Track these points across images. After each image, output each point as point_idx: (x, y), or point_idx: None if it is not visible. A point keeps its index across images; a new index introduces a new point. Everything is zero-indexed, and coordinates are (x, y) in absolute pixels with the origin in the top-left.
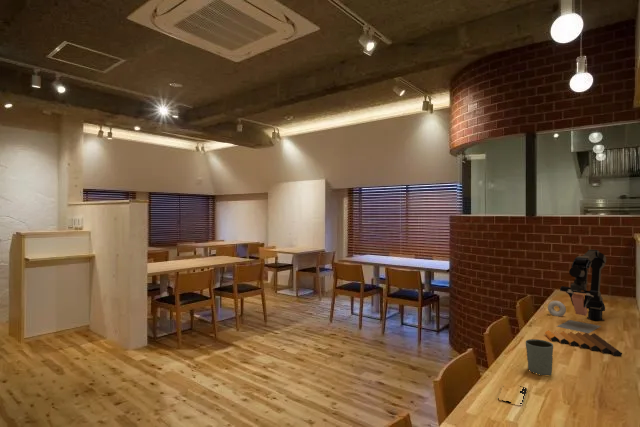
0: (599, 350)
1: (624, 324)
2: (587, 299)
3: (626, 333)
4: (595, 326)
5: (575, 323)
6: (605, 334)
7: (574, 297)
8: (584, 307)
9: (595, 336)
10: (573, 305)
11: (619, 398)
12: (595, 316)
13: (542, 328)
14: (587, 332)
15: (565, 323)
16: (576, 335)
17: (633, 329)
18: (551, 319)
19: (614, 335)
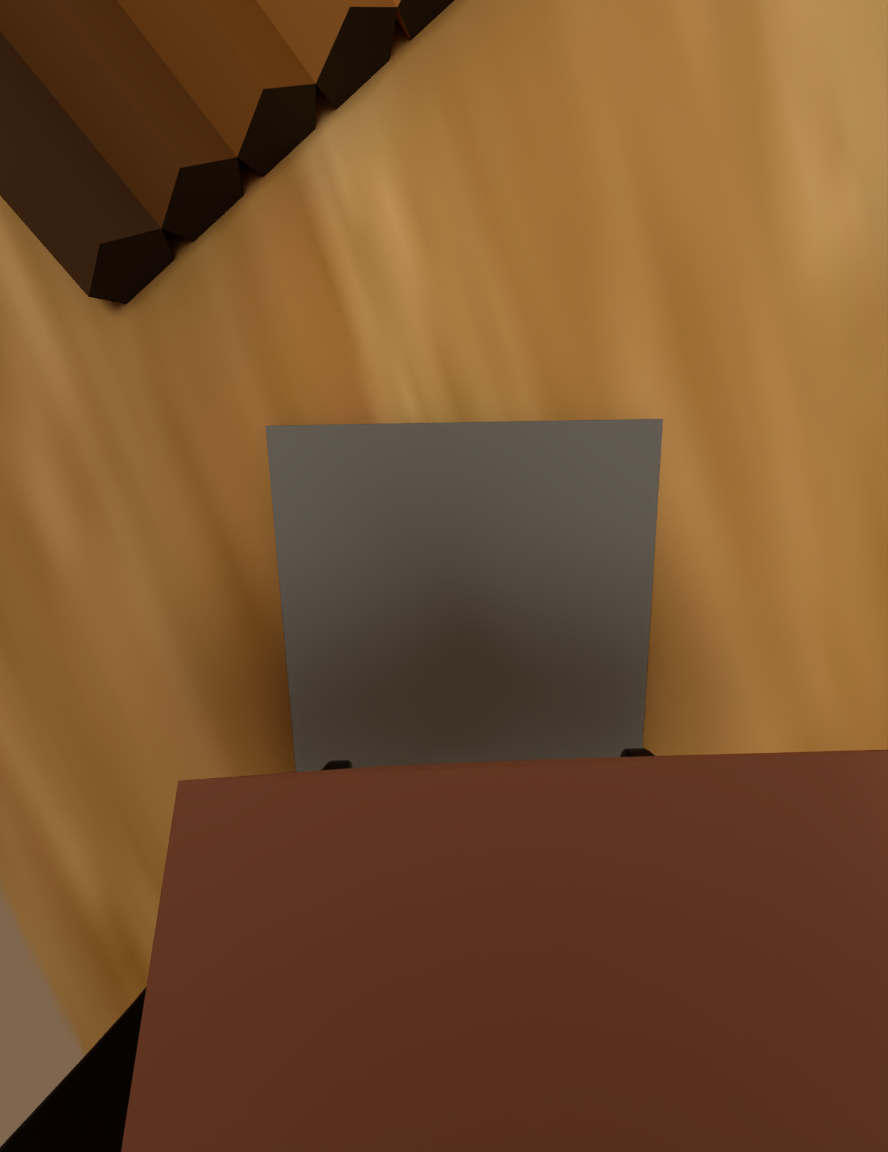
0: None
1: None
2: (35, 1115)
3: (41, 818)
4: None
5: (540, 749)
6: (153, 593)
7: (769, 798)
8: (330, 768)
9: (42, 130)
10: (625, 749)
11: None
12: None
13: (770, 207)
14: (291, 452)
15: (622, 653)
16: (272, 27)
17: (73, 1016)
18: (804, 741)
19: (75, 634)
